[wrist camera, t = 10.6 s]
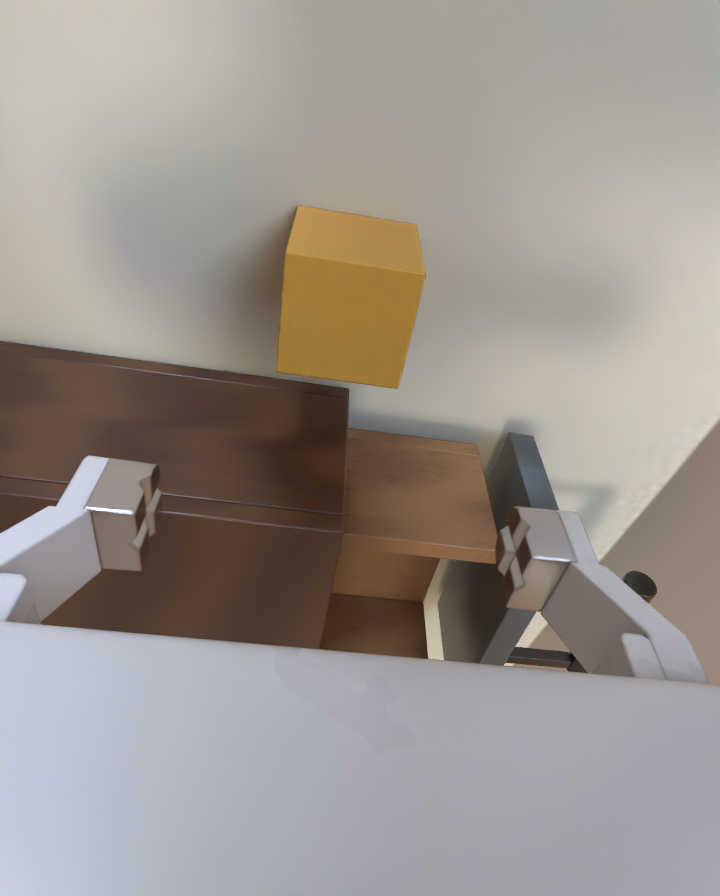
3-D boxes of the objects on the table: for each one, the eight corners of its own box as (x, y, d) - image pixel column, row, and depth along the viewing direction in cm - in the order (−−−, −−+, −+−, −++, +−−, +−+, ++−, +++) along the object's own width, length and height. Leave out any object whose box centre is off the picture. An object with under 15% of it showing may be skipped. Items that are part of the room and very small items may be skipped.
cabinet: (349, 388, 26) (343, 532, 20) (314, 584, 36) (303, 726, 29) (-15, 338, 25) (-153, 477, 18) (48, 557, 34) (-28, 701, 27)
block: (416, 224, 21) (426, 274, 18) (393, 329, 24) (398, 389, 21) (297, 204, 21) (284, 251, 18) (288, 314, 24) (275, 372, 21)
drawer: (646, 450, 27) (712, 566, 22) (543, 614, 36) (574, 725, 31) (213, 392, 25) (174, 505, 20) (214, 580, 34) (186, 693, 29)
